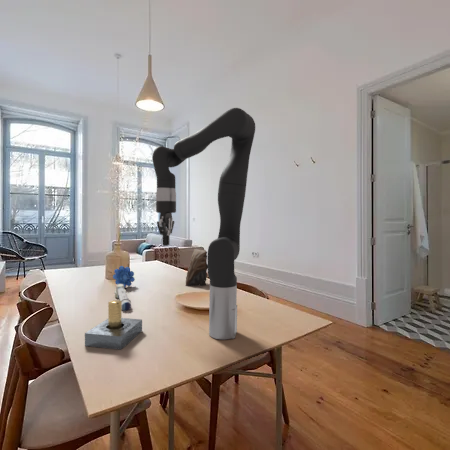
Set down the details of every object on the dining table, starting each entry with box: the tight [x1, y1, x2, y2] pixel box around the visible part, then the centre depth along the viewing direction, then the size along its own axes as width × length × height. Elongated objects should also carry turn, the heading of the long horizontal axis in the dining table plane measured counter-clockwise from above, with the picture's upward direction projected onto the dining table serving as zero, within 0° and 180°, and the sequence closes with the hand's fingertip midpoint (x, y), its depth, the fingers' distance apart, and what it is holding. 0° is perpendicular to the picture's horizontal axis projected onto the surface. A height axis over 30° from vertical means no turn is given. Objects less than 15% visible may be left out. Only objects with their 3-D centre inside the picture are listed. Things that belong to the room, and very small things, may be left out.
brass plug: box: [107, 299, 123, 329], centre depth 93 cm, size 4×4×12 cm
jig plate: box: [84, 317, 143, 351], centre depth 93 cm, size 12×14×4 cm
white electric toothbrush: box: [113, 284, 132, 312], centre depth 131 cm, size 5×7×25 cm
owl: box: [185, 248, 208, 287], centre depth 166 cm, size 13×13×20 cm
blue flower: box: [112, 265, 135, 288], centre depth 155 cm, size 12×7×12 cm, turn 125°
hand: (166, 245), depth 110 cm, fingers closed
